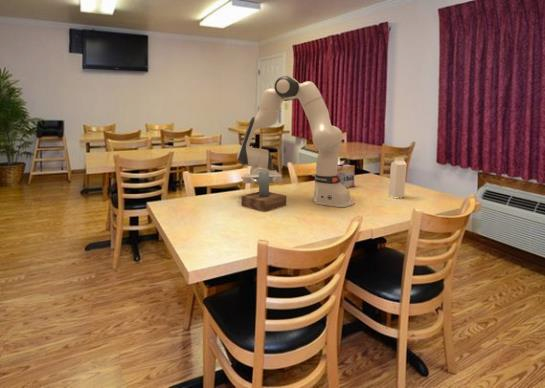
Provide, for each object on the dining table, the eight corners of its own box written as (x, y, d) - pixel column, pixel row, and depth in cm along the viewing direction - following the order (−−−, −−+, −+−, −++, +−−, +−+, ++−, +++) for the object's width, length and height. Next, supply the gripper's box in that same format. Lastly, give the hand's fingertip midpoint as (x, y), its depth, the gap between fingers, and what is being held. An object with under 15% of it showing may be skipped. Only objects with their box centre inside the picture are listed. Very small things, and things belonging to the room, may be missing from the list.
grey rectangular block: (270, 195, 196) (271, 172, 193) (264, 197, 192) (264, 173, 189) (263, 194, 199) (263, 171, 196) (256, 195, 195) (256, 172, 192)
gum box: (346, 184, 248) (348, 163, 245) (355, 186, 242) (357, 165, 239) (318, 188, 235) (318, 166, 232) (326, 191, 229) (327, 168, 226)
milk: (403, 198, 214) (407, 158, 209) (394, 198, 212) (397, 158, 207) (397, 195, 220) (401, 156, 214) (388, 196, 218) (391, 157, 213)
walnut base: (286, 205, 198) (286, 195, 197) (265, 211, 186) (265, 201, 185) (262, 199, 208) (262, 190, 207) (241, 205, 196) (241, 196, 195)
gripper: (240, 170, 204) (243, 175, 191) (279, 170, 207) (284, 174, 194) (240, 182, 205) (243, 188, 192) (278, 181, 209) (284, 187, 195)
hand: (264, 181), depth 193 cm, fingers open, 8 cm apart
